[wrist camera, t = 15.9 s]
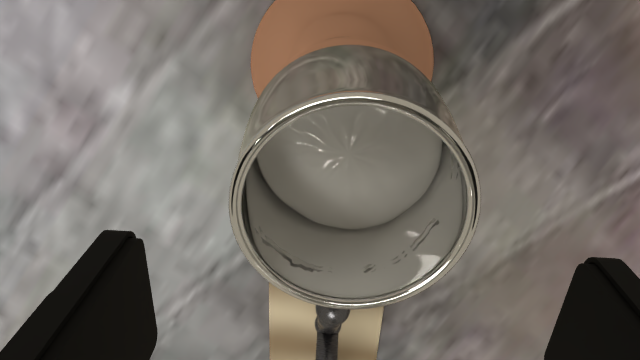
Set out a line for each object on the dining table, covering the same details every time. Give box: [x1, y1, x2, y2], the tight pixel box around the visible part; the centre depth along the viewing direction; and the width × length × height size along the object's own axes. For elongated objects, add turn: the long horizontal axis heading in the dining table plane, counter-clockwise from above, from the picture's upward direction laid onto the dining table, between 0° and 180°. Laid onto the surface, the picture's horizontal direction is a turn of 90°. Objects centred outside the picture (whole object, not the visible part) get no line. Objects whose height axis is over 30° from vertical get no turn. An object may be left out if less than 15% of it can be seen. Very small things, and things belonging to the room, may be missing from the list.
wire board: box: [269, 282, 384, 360], centre depth 32 cm, size 19×8×2 cm, turn 177°
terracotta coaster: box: [251, 0, 434, 98], centre depth 26 cm, size 10×10×1 cm
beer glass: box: [229, 14, 481, 310], centre depth 19 cm, size 7×7×15 cm
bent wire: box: [315, 305, 350, 360], centre depth 26 cm, size 16×2×11 cm, turn 178°
